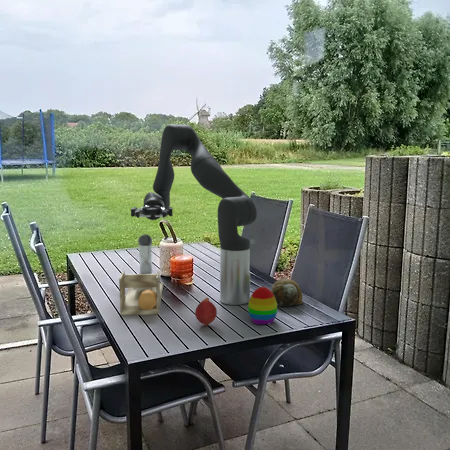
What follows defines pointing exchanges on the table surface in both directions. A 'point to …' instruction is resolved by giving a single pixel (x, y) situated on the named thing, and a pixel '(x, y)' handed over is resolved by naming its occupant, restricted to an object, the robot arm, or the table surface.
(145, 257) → the shaft
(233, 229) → the robot arm
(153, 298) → the rounded orange object
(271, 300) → the decorative egg
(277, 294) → the seashell
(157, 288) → the frame
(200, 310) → the onion
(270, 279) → the table surface
